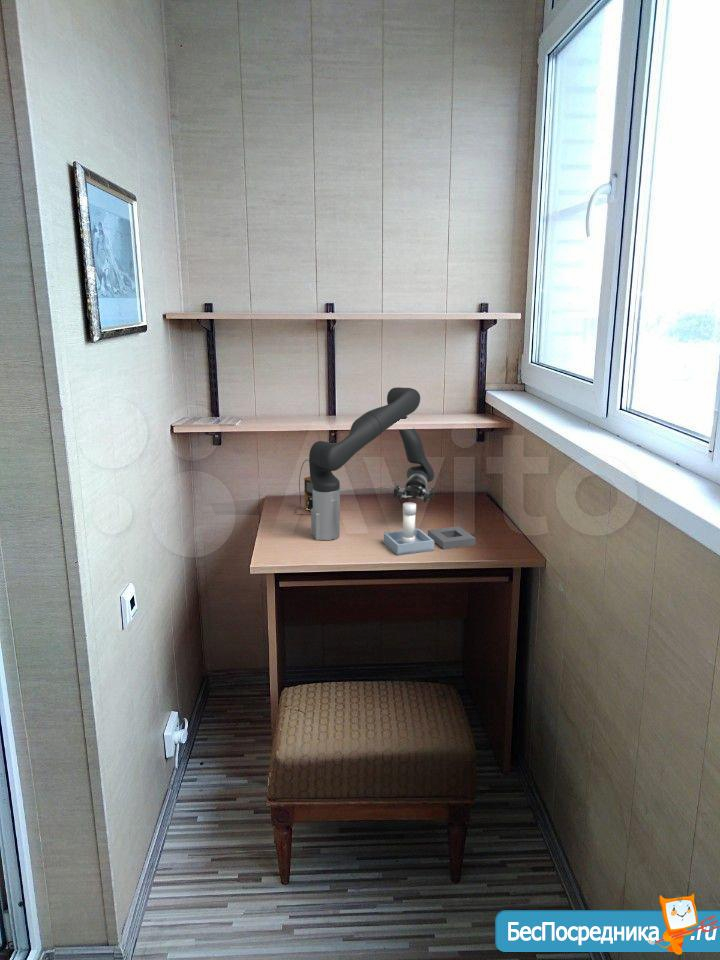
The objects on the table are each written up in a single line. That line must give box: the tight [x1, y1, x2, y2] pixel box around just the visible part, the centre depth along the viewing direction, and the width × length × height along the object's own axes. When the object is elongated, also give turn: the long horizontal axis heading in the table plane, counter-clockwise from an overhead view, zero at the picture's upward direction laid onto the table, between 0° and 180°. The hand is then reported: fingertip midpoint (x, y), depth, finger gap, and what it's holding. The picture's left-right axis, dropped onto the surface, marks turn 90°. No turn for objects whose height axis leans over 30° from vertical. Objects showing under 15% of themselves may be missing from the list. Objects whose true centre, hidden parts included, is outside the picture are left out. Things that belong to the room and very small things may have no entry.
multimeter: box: [298, 459, 313, 510], centre depth 254 cm, size 15×10×20 cm
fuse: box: [402, 501, 417, 544], centre depth 223 cm, size 4×4×14 cm
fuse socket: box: [427, 525, 476, 550], centre depth 230 cm, size 12×12×2 cm
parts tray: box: [383, 528, 435, 556], centre depth 225 cm, size 13×12×4 cm
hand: (412, 498), depth 232 cm, fingers open, 8 cm apart
